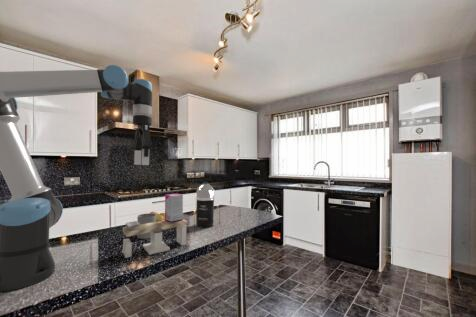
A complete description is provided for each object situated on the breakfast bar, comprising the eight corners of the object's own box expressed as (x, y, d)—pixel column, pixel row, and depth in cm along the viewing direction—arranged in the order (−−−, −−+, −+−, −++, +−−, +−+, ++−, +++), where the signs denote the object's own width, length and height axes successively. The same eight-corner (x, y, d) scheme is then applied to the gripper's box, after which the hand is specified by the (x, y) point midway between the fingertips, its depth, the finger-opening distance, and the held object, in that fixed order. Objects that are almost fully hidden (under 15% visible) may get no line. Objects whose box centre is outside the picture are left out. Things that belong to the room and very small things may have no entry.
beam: (126, 239, 81) (126, 227, 81) (122, 232, 88) (122, 222, 88) (187, 226, 95) (187, 217, 95) (179, 222, 102) (179, 213, 102)
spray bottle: (212, 228, 121) (213, 182, 122) (194, 228, 121) (194, 182, 122) (214, 223, 132) (215, 181, 132) (197, 223, 132) (198, 181, 132)
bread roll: (170, 222, 133) (170, 208, 134) (175, 225, 125) (175, 211, 126) (147, 225, 126) (148, 211, 126) (151, 229, 118) (152, 214, 118)
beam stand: (126, 259, 80) (127, 237, 81) (121, 251, 88) (122, 230, 89) (187, 245, 95) (188, 226, 95) (179, 239, 103) (179, 221, 103)
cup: (148, 239, 102) (149, 217, 103) (133, 238, 104) (133, 216, 104) (158, 233, 111) (159, 213, 111) (144, 232, 112) (144, 213, 113)
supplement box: (183, 220, 96) (183, 194, 97) (171, 223, 92) (170, 195, 92) (176, 218, 100) (176, 193, 101) (164, 220, 96) (164, 194, 96)
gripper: (160, 112, 88) (158, 165, 87) (144, 121, 108) (143, 164, 107) (140, 109, 83) (138, 165, 83) (127, 119, 103) (126, 164, 103)
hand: (141, 164), depth 95 cm, fingers open, 13 cm apart
